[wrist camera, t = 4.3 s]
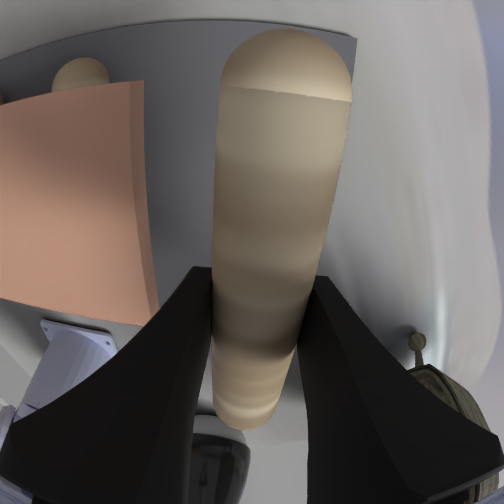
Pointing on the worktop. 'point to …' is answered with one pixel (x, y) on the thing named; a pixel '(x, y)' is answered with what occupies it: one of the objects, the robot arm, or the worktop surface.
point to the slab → (77, 203)
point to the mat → (164, 117)
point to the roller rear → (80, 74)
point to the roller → (270, 209)
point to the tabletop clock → (455, 399)
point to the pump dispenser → (217, 462)
